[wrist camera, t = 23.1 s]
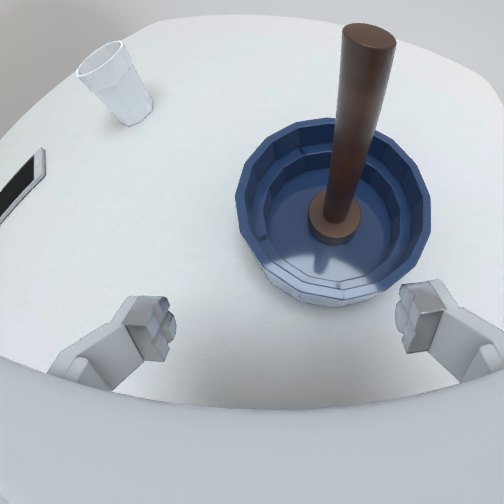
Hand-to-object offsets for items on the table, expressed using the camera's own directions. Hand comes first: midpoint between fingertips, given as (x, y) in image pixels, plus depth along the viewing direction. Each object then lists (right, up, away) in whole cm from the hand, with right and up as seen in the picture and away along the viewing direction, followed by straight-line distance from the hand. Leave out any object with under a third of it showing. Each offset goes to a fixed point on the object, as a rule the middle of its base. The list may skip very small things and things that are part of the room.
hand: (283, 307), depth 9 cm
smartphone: (-41, +12, +26) cm, 50 cm away
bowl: (+6, +4, +15) cm, 17 cm away
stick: (+6, +4, +15) cm, 16 cm away
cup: (-17, +21, +24) cm, 36 cm away
